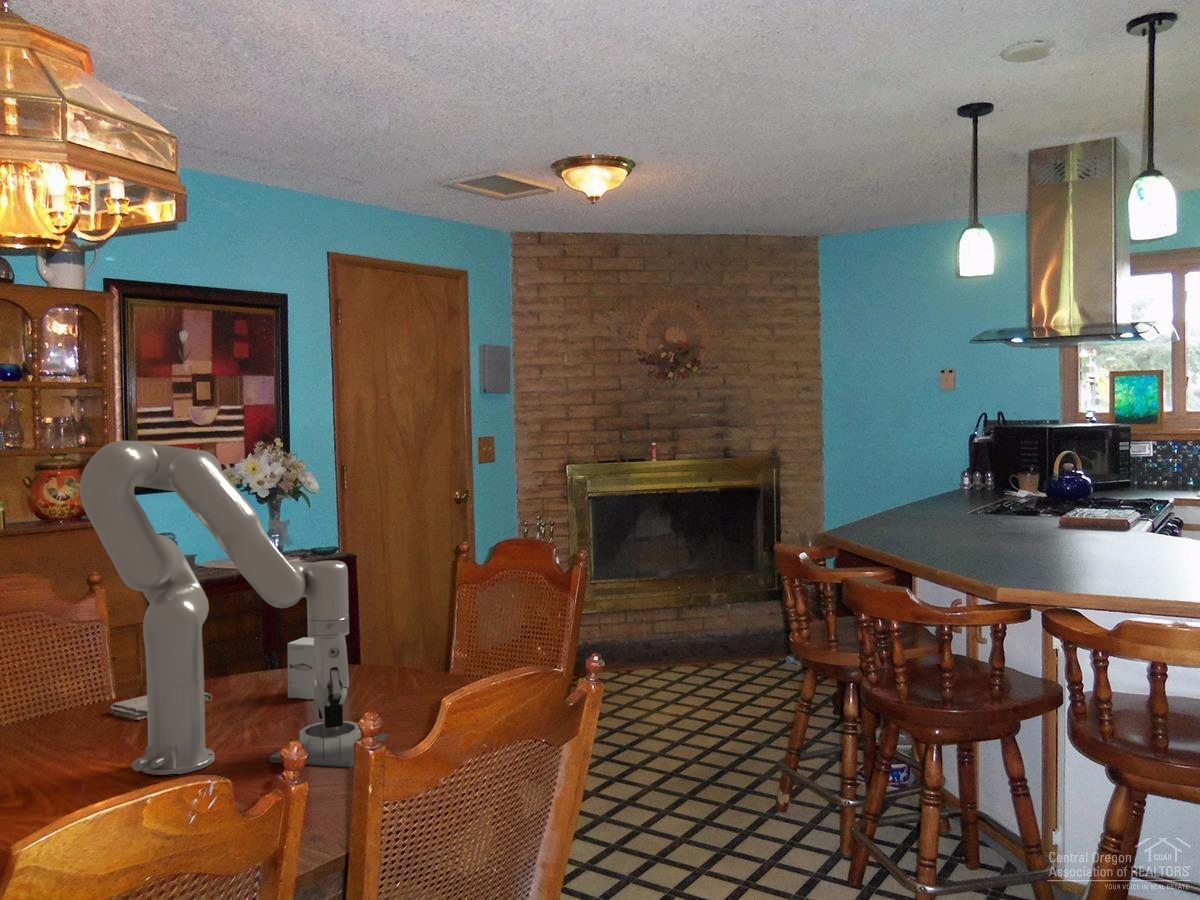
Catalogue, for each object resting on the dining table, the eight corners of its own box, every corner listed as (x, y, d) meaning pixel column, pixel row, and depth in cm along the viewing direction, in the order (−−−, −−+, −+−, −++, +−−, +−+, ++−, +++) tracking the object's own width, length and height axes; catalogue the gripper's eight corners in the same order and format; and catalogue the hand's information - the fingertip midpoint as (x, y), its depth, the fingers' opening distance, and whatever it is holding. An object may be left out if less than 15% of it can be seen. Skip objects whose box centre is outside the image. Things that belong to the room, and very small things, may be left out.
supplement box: (286, 698, 218) (285, 643, 218) (305, 690, 225) (304, 636, 225) (315, 700, 216) (314, 644, 216) (333, 692, 223) (332, 637, 223)
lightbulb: (312, 740, 178) (310, 681, 178) (316, 730, 184) (315, 673, 184) (346, 738, 179) (344, 679, 179) (349, 728, 185) (348, 671, 185)
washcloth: (105, 716, 207) (105, 702, 207) (180, 696, 223) (180, 683, 223) (139, 724, 201) (138, 709, 201) (213, 703, 216) (213, 690, 216)
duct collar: (350, 767, 172) (350, 745, 172) (269, 762, 176) (269, 740, 176) (387, 739, 188) (387, 719, 188) (312, 735, 191) (312, 715, 191)
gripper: (357, 633, 175) (360, 731, 176) (340, 617, 191) (342, 707, 191) (315, 637, 172) (318, 737, 172) (300, 621, 188) (303, 713, 188)
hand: (330, 721), depth 182 cm, fingers closed on lightbulb, 5 cm apart
